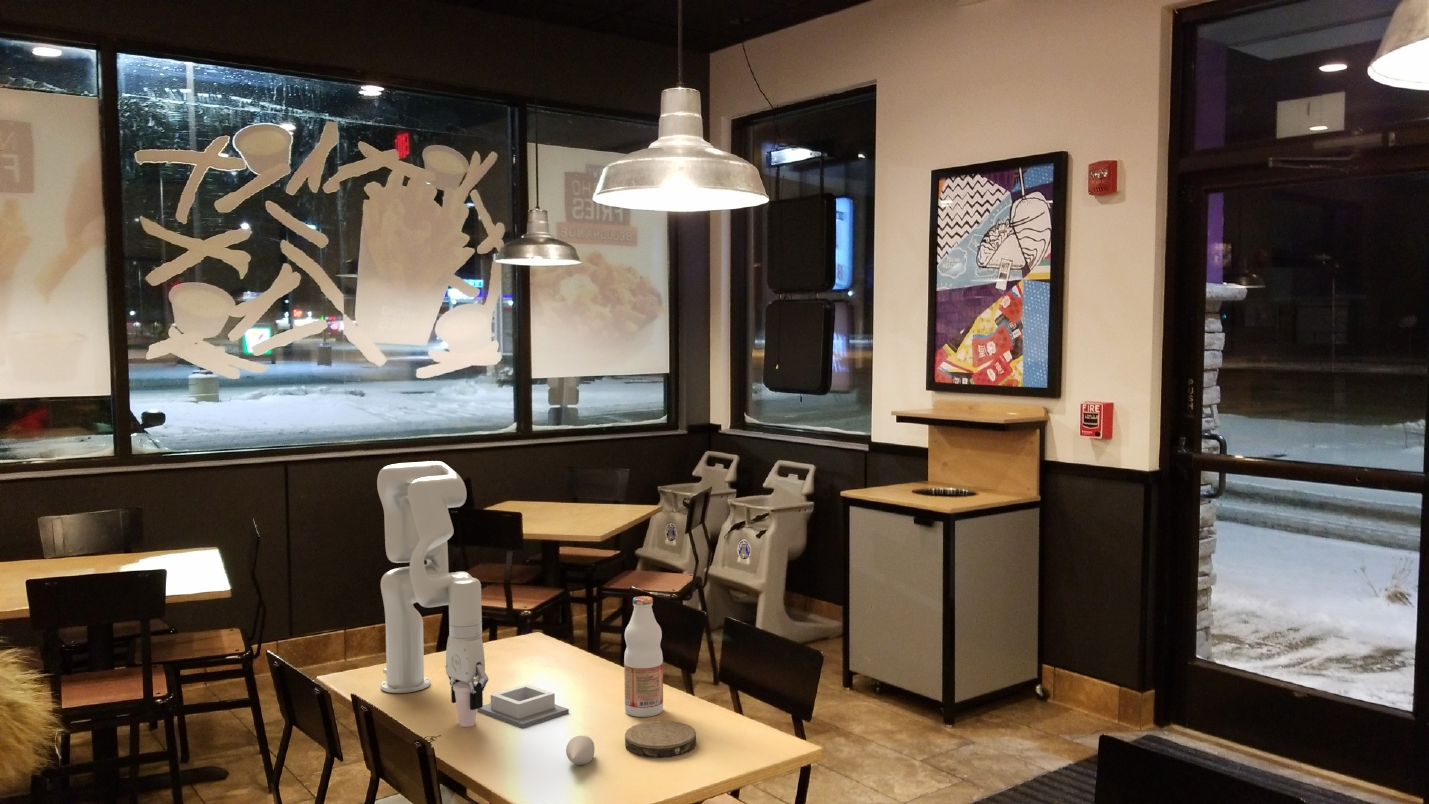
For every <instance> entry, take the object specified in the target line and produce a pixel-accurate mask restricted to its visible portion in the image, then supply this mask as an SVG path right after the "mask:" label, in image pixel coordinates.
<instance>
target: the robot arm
mask: <svg viewBox="0 0 1429 804" xmlns="http://www.w3.org/2000/svg"><path fill="white" fill-rule="evenodd" d="M376 485H377V493H378V496H379V499H380V502H381V505H382V508H383V514H384V540H385V541H384V543H385V545H384V546H385V552H386V557H387V559H388V560H389V561H390V562H391V563H396V564H399V563H400V564H403V563H409V566H403V567H398V568H397V567H396V568H393V569H390V570H389V571H387V572H385V573H384V574H383V576H382V577H381V579H380V590H381V592H380V593H381V596H382V601H383V607H384V619H385V624H384V625H385V658H386V662H385V663H386V664H385V666H386V667H385V668H384V669H383V670H382V673H383V674H385V676H386V677H385V678H386V679H385V680H383V681H382V682H381V683H380V689H381V691H384V692H386V693H391V694H407V693H413V692H414V693H415V692H418V691H421V690H424V689H427V688H428V687H430V685H431V679H430V677H428V676H425V665H424V664H425V661H424V660H425V659H424V658H425V655H424V654H425V653H424V621H423V617H422V615H421V613H420V612H419V611H418V610H417V608H415V606H414V604H416V603H418V604H419V605H420V606H421V607H423V608H428V609H429V608H436V607H442V606H448V629H449V630H448V631H449V632H448V633H449V635H448V637H447V643H446V651H445V666H444V667H445V674H446V675H447V677H448V679H449V685H450V691H451V692H450V693H451V694H450V695H451V698H450V699H451V700H450V701H451V703H452V704H456V698H455V691H454V690H453V685H454V684H455V683H457V682H459V681H462V682H466V683H468V682H469V685H470V688H471V692H472V693H470V709H471V710H475V709H478V708H482V707H483V705H484V702H483V701H484V699H483V697H484V696H483V695H484V694H483V693H484V691H485V687H486V685H487V683H488V682H489V677H488V675H487V673H486V663H485V662H486V660H485V659H486V658H485V650H484V648H485V647H484V644H483V643H484V641H483V637H482V636H483V628H482V627H483V626H482V625H483V622H482V621H483V619H482V617H483V615H482V584H481V581H480V580H479V579H478V578H476V577H472V575H471V574H470V573H468V572H466V571H456V572H449V551H448V549H449V548H448V546H449V545H448V540H450V539H451V538H452V536H453V535H454V534H455V533H454V530H455V529H454V526H453V522H452V518H451V515H450V513H449V509H450V508H460V507H462V506H463V505H464V504H465V503H466V500H467V493H468V492H467V488H466V485H465V482H464V480H463V479H462V477H461V476H460V475H459V473H457V471H455V470H454V469H453V468H451V467H450V466H449V465H448V464H446V463H445V462H443V461H440V460H439V461H438V460H435V461H434V460H431V461H429V460H427V461H417V462H413V461H412V462H411V461H410V462H399V463H393V464H389V465H386V466H384V467H383V468H381V469H380V470H379V472H378V475H377V480H376ZM425 561H426V564H425ZM476 681H477V685H476V686H475V685H474V682H476Z"/></svg>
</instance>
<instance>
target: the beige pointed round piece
mask: <svg viewBox="0 0 1429 804" xmlns="http://www.w3.org/2000/svg"><path fill="white" fill-rule="evenodd" d="M595 751H596V750H595V743H594V740H593V739H592V738H591V737H590V736H588V735H578V736H574V737H572V738H570V740H569V741H568V743H567V744H566V748H565V752H566V753H565V754H566V756H567V759H568V761H569V762H571V763H572V764H574V765H576V766H585V765H587V764H588V763H590V762H592V759H593V758H594V757H595V756H594V755H595Z"/></svg>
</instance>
